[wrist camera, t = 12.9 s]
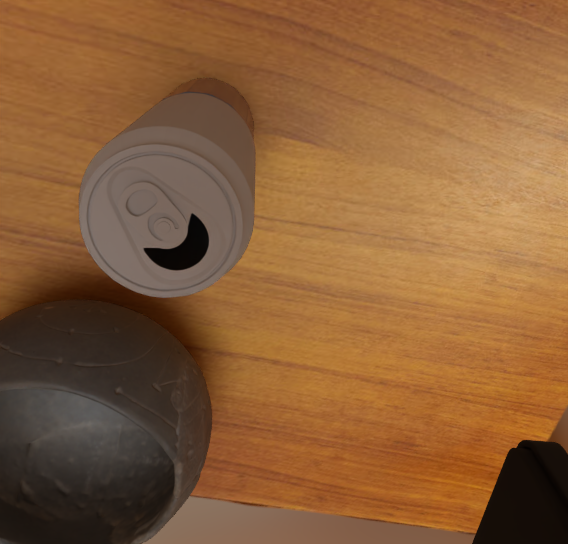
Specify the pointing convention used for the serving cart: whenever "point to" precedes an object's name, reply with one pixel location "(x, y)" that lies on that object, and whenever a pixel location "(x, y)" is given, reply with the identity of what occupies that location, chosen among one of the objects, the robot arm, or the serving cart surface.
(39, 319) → the bowl
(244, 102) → the cup
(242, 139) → the beverage can
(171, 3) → the serving cart surface
